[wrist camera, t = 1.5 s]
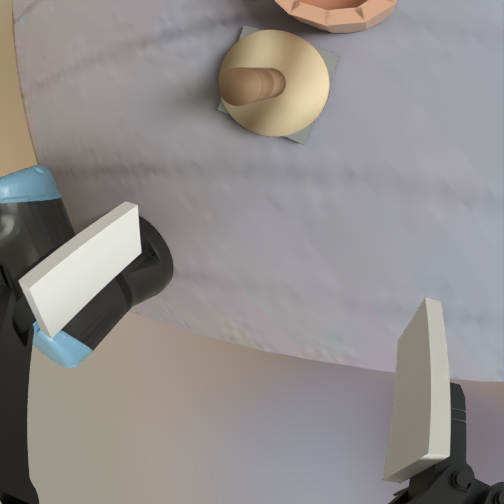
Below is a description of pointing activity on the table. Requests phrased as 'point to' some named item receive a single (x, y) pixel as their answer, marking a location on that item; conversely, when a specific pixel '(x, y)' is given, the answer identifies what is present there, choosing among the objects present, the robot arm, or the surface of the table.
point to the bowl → (339, 13)
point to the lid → (274, 83)
